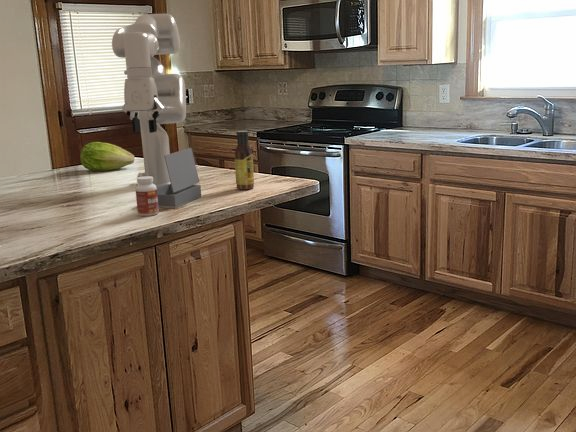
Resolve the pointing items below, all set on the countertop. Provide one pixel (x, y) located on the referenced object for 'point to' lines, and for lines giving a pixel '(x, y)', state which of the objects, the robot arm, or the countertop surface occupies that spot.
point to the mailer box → (177, 196)
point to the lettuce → (105, 157)
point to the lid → (181, 169)
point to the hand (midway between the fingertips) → (145, 131)
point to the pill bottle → (146, 196)
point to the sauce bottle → (244, 162)
